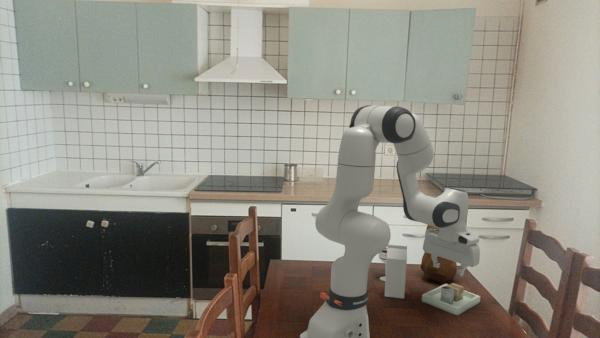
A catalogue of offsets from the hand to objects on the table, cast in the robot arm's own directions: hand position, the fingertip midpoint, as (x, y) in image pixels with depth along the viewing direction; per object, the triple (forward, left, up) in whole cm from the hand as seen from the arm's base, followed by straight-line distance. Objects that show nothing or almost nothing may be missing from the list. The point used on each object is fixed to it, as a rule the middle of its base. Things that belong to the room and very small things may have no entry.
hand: (448, 271), depth 155 cm
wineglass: (+2, +28, -13) cm, 31 cm away
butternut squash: (+18, +14, -13) cm, 26 cm away
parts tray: (+4, 0, -13) cm, 13 cm away
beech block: (+6, 0, -12) cm, 13 cm away
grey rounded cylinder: (+1, 0, -12) cm, 12 cm away
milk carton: (-7, +17, -13) cm, 23 cm away
